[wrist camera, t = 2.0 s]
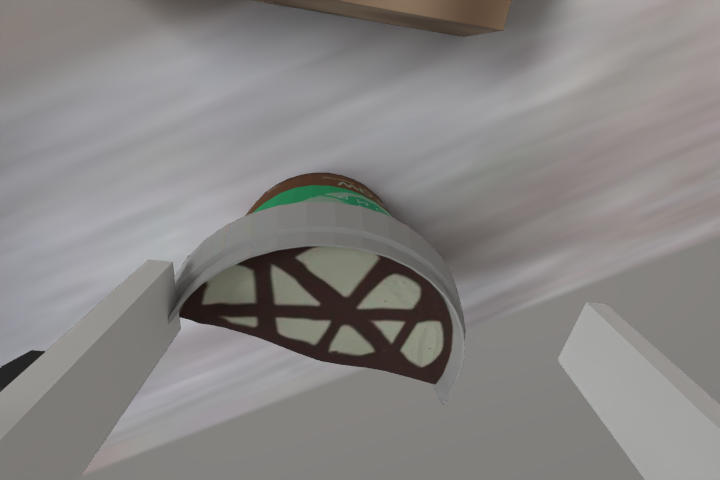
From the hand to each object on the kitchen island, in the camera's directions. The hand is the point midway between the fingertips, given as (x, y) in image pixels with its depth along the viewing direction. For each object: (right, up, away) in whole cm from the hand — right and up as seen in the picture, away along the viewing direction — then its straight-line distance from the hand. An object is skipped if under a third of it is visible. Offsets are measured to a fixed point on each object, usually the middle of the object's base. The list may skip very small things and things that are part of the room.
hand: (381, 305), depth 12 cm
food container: (-2, +5, +8) cm, 10 cm away
